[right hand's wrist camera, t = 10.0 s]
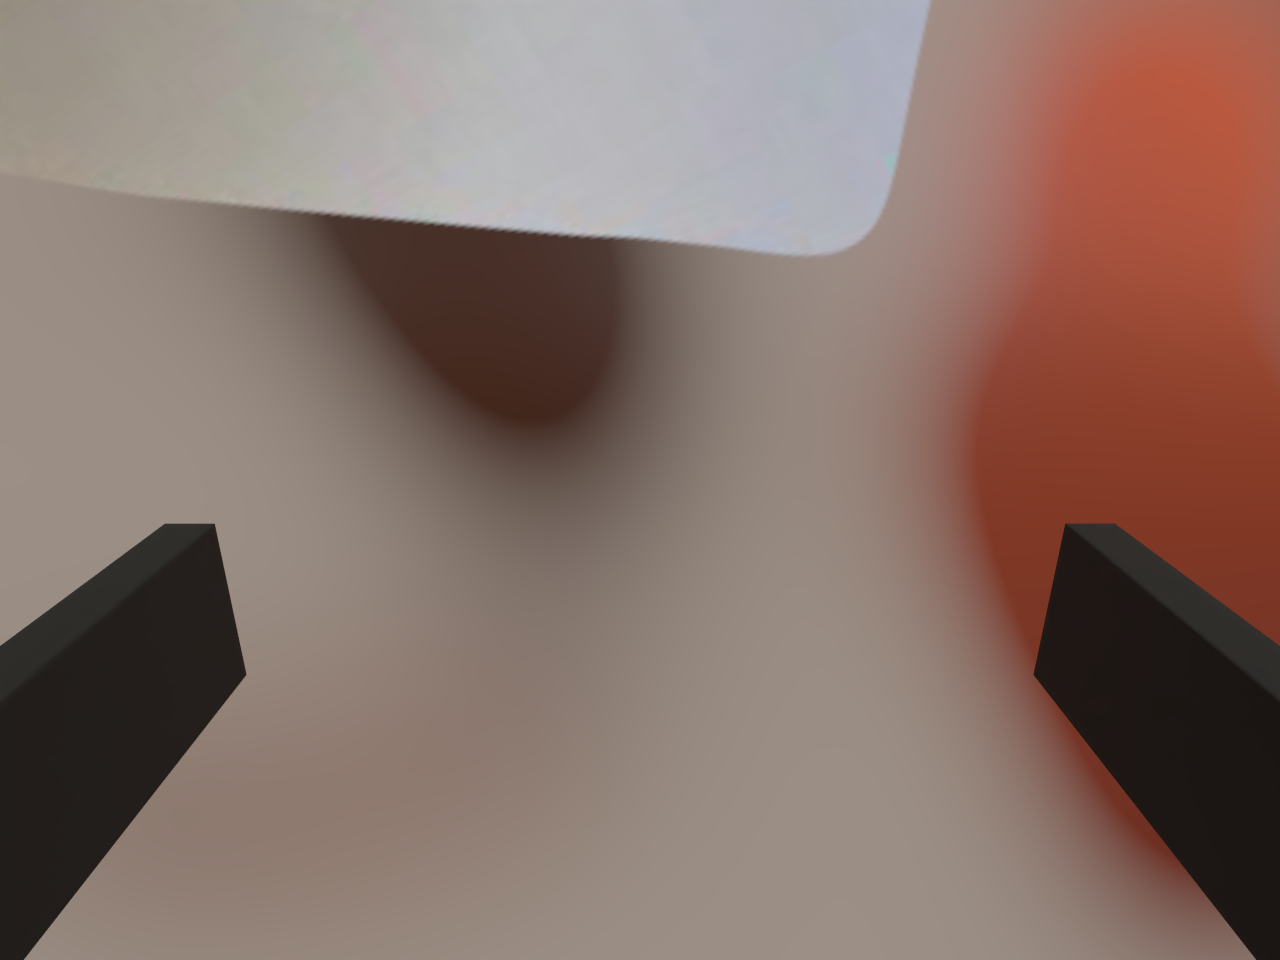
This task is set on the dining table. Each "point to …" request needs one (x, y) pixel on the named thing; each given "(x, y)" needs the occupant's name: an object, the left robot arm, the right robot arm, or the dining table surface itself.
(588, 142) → the dining table surface
